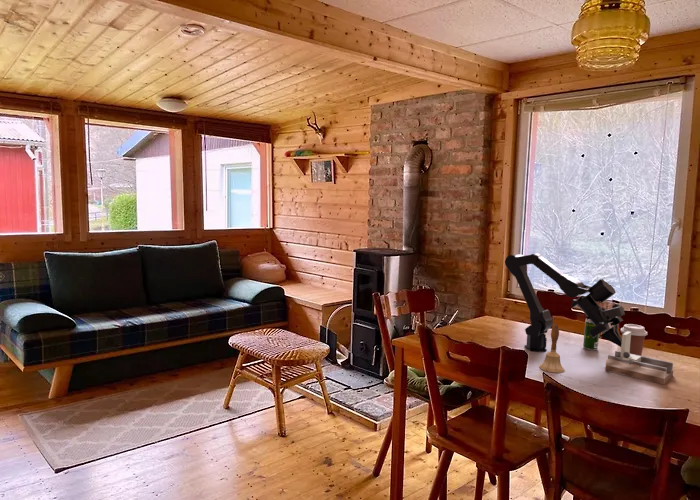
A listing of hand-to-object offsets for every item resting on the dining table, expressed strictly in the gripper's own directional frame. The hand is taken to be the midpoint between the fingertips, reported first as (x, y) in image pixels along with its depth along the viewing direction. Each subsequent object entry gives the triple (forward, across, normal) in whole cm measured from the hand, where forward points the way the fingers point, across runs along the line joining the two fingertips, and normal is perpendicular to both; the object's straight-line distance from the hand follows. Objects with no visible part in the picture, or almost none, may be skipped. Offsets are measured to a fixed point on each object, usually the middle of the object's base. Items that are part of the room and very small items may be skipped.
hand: (622, 346), depth 182 cm
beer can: (-6, +18, +18) cm, 26 cm away
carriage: (+6, -2, +2) cm, 7 cm away
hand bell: (-6, -19, +18) cm, 27 cm away
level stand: (+10, 0, +2) cm, 10 cm away
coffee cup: (+5, +18, +7) cm, 20 cm away
